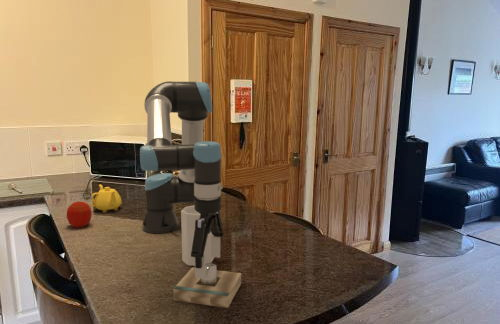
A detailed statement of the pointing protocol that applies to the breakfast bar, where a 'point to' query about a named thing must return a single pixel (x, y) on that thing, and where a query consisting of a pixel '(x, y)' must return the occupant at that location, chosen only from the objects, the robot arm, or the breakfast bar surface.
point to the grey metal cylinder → (210, 275)
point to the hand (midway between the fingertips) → (208, 266)
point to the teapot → (106, 199)
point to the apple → (79, 214)
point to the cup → (192, 236)
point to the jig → (208, 289)
